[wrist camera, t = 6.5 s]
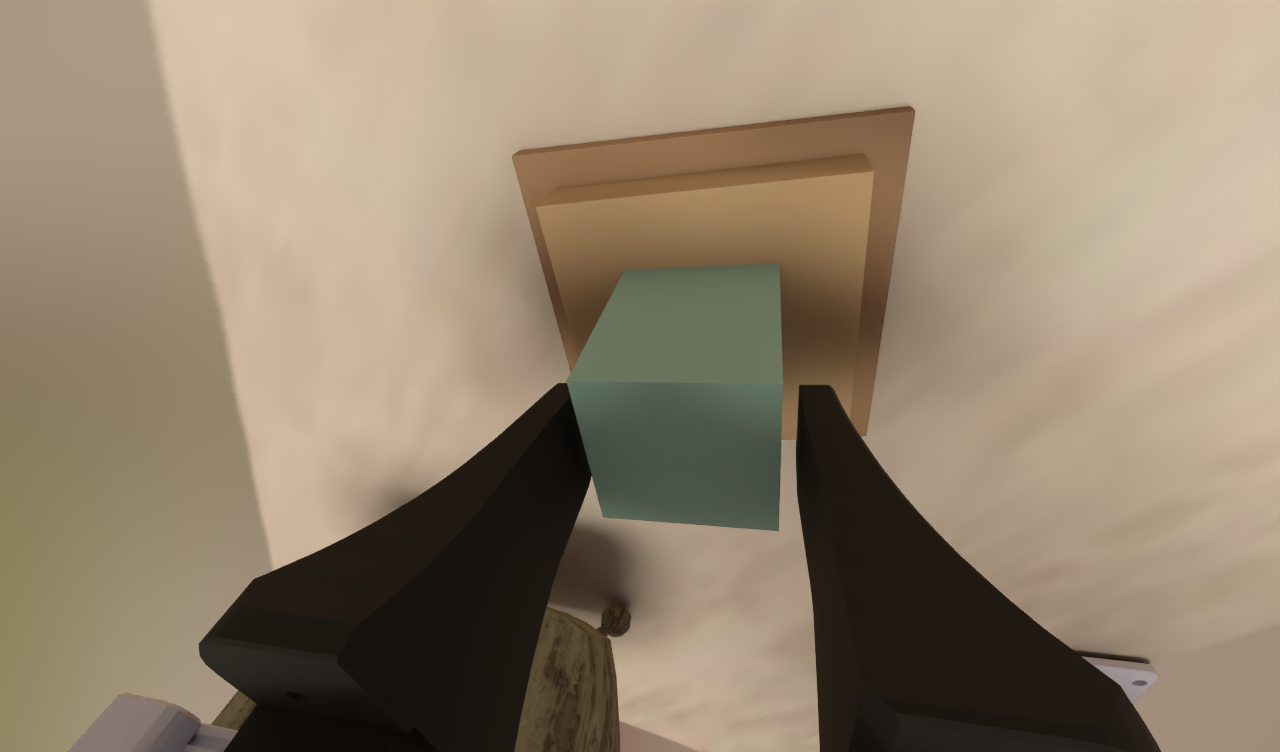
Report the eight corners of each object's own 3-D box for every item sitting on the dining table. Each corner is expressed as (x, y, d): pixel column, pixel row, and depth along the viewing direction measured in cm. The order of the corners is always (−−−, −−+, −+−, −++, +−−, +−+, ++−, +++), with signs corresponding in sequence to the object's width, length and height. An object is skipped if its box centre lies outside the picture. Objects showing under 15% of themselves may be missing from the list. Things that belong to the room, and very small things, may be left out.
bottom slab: (860, 407, 19) (866, 436, 17) (596, 403, 21) (586, 428, 20) (902, 98, 13) (915, 110, 12) (531, 142, 15) (511, 156, 14)
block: (776, 390, 15) (778, 530, 11) (644, 388, 16) (603, 517, 12) (779, 263, 13) (782, 383, 9) (624, 269, 14) (566, 381, 10)
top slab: (841, 408, 17) (847, 440, 16) (609, 408, 19) (599, 436, 18) (863, 153, 12) (874, 171, 11) (554, 188, 14) (535, 206, 13)
